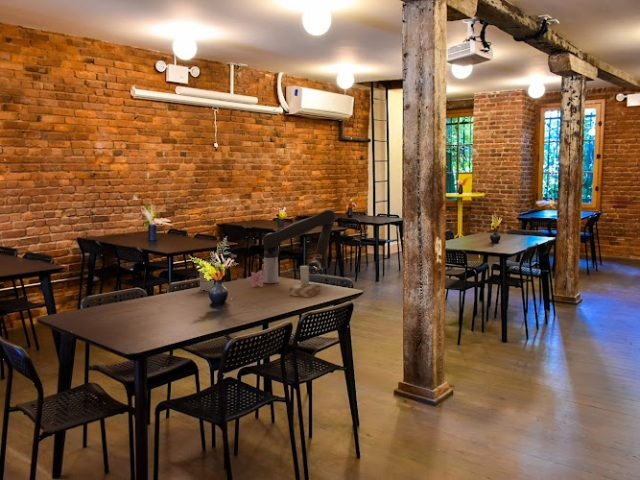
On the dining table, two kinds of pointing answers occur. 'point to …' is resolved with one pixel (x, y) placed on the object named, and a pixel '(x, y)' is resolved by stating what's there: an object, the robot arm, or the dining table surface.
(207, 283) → the supplement box
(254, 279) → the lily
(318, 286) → the birch plinth
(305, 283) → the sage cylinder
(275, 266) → the robot arm
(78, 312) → the dining table surface
